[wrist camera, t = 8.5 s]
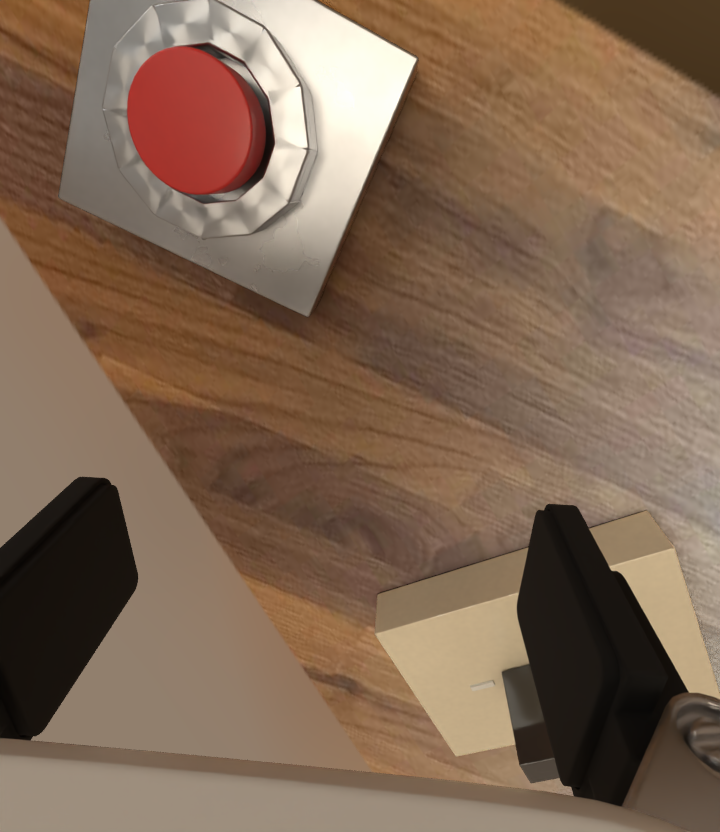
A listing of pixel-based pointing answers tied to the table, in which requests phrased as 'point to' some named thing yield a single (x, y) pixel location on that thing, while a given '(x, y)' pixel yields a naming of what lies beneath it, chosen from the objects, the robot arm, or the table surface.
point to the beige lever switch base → (501, 636)
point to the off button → (195, 122)
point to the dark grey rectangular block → (529, 725)
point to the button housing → (285, 135)
